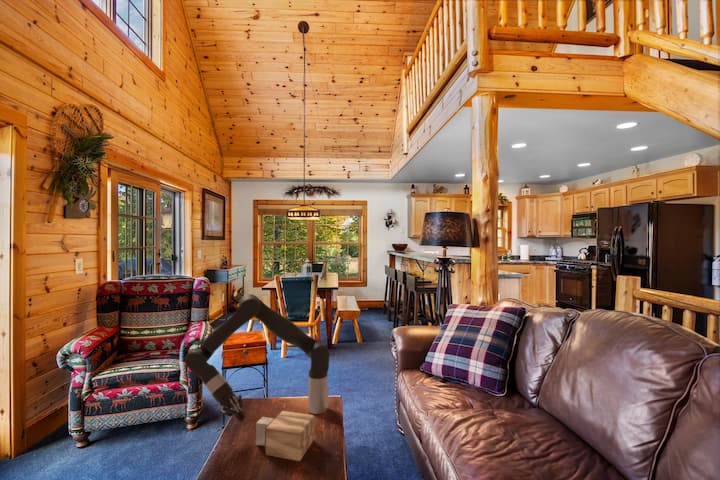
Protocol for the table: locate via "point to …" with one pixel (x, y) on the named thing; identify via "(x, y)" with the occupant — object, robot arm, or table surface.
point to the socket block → (289, 435)
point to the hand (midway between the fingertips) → (243, 420)
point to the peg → (262, 430)
